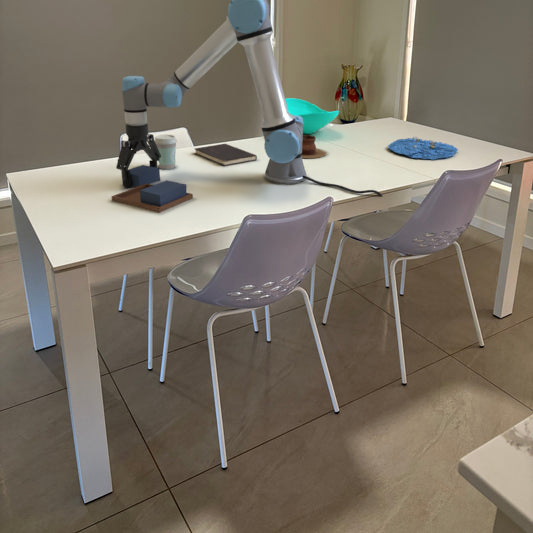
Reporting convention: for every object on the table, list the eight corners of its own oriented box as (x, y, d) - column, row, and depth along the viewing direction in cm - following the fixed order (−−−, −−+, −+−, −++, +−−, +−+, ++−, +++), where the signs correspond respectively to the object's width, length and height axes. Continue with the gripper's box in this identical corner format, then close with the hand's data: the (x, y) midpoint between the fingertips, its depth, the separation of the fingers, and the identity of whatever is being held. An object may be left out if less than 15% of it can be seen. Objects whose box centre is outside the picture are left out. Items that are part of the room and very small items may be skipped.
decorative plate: (471, 160, 248) (474, 148, 245) (406, 163, 241) (408, 151, 238) (437, 141, 273) (439, 130, 270) (377, 143, 266) (379, 132, 264)
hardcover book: (223, 166, 232) (223, 160, 231) (194, 153, 249) (194, 148, 248) (256, 160, 241) (256, 154, 240) (226, 148, 257) (226, 143, 256)
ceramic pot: (294, 146, 262) (295, 130, 259) (332, 151, 255) (333, 134, 252) (277, 155, 248) (278, 138, 244) (317, 160, 241) (318, 143, 238)
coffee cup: (174, 171, 226) (172, 139, 221) (152, 169, 227) (150, 138, 222) (181, 165, 233) (179, 134, 228) (160, 163, 235) (158, 133, 230)
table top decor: (352, 138, 277) (354, 109, 271) (302, 144, 265) (303, 114, 259) (306, 122, 308) (307, 96, 303) (260, 127, 296) (260, 100, 290)
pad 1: (160, 181, 214) (159, 168, 212) (139, 189, 205) (138, 175, 203) (143, 177, 217) (142, 164, 215) (122, 185, 209) (121, 171, 207)
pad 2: (187, 198, 195) (186, 184, 193) (160, 210, 185) (159, 195, 183) (167, 194, 199) (166, 180, 197) (140, 205, 189) (139, 190, 187)
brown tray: (193, 199, 196) (192, 193, 195) (159, 214, 183) (159, 208, 182) (146, 188, 206) (146, 183, 205) (112, 202, 193) (111, 196, 192)
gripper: (152, 116, 213) (156, 172, 223) (101, 128, 194) (108, 190, 203) (168, 118, 210) (171, 176, 219) (118, 131, 191) (124, 194, 200)
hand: (141, 183), depth 211 cm, fingers open, 13 cm apart
